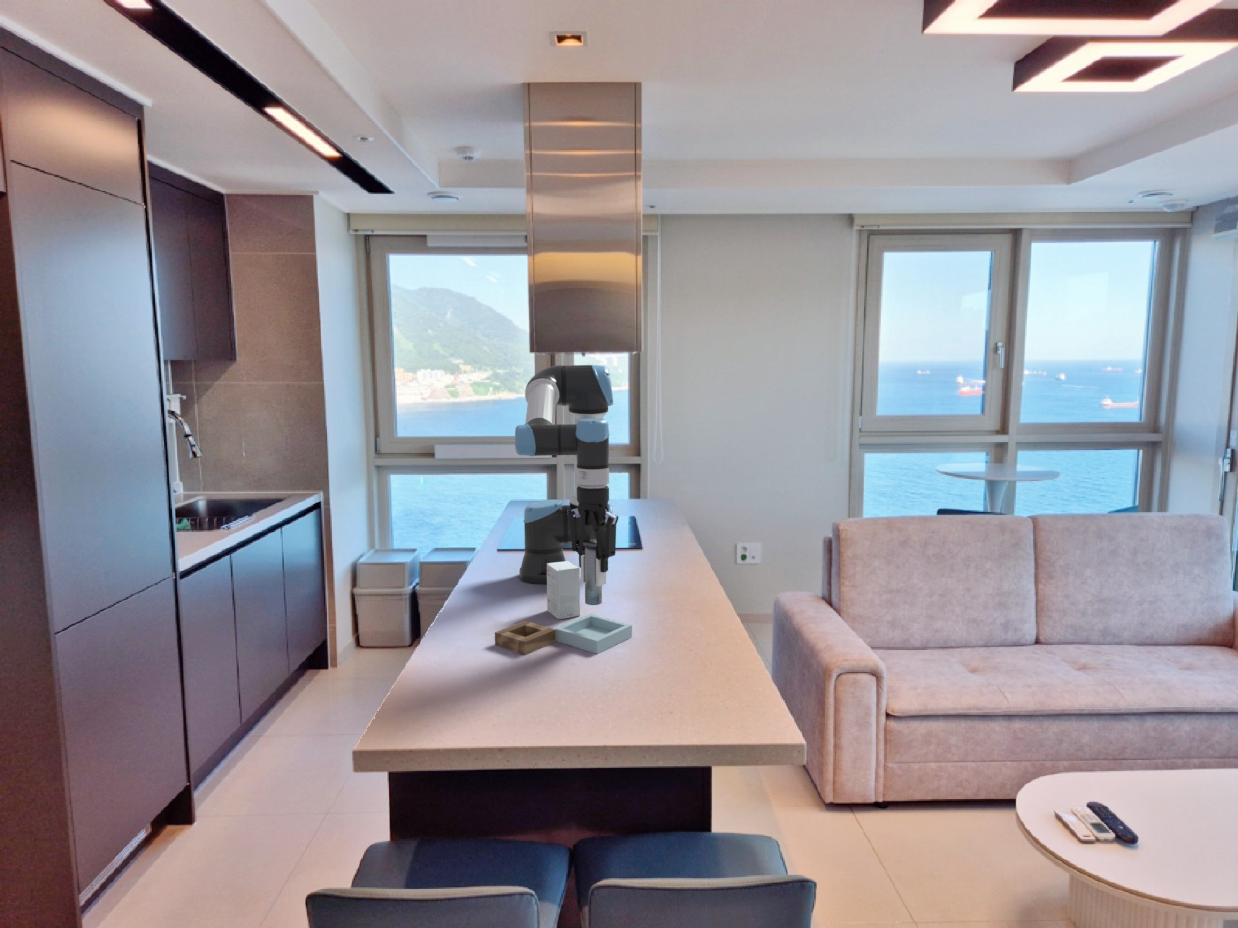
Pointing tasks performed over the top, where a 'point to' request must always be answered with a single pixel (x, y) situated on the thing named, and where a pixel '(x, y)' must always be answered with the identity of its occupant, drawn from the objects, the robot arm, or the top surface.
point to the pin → (591, 573)
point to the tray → (593, 633)
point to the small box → (563, 590)
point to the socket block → (525, 637)
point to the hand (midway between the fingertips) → (593, 582)
